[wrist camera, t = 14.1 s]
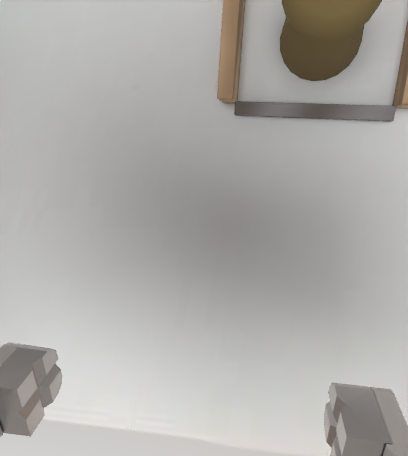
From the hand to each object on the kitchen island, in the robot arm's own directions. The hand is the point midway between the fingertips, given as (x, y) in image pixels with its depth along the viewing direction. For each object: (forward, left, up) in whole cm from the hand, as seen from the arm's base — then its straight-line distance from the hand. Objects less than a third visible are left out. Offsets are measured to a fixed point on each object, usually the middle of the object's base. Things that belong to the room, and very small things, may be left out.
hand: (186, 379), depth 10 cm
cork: (+3, +15, -22) cm, 27 cm away
